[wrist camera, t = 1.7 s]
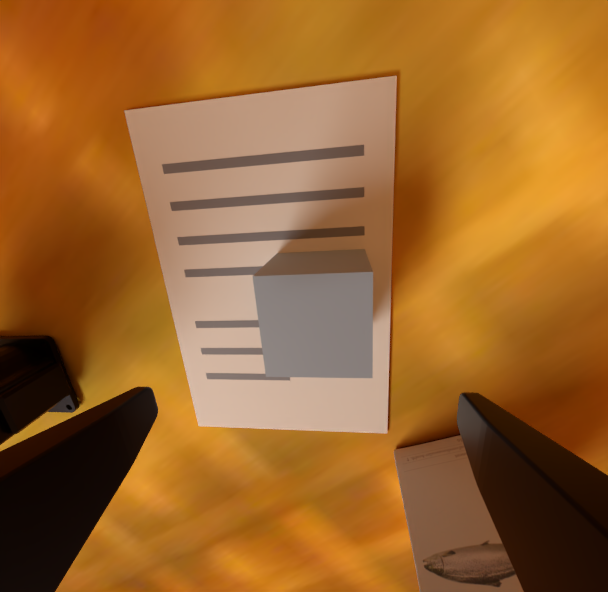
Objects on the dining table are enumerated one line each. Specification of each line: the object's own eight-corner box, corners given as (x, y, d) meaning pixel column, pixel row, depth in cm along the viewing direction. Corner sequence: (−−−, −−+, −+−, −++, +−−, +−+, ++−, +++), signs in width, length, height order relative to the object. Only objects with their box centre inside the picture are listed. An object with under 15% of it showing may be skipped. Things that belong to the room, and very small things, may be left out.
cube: (285, 330, 19) (265, 376, 14) (277, 253, 17) (252, 276, 12) (365, 329, 18) (372, 378, 13) (364, 248, 16) (373, 271, 12)
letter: (199, 424, 23) (198, 426, 22) (126, 111, 16) (123, 110, 16) (386, 431, 21) (387, 433, 20) (396, 77, 14) (396, 75, 14)
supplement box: (498, 419, 19) (746, 782, 7) (525, 498, 21) (756, 887, 9) (389, 446, 21) (448, 770, 9) (422, 516, 23) (506, 860, 11)
